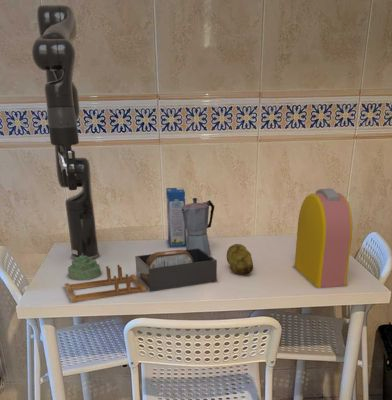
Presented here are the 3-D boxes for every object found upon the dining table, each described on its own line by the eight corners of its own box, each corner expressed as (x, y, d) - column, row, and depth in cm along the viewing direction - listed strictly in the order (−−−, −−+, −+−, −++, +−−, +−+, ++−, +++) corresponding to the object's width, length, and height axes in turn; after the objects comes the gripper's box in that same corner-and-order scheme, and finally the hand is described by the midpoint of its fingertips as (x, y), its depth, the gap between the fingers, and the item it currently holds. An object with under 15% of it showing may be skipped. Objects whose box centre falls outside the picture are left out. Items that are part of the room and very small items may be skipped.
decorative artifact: (101, 278, 157) (99, 268, 166) (98, 256, 154) (97, 248, 163) (68, 281, 156) (69, 271, 164) (65, 259, 152) (66, 250, 161)
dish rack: (64, 287, 150) (62, 271, 148) (134, 277, 158) (133, 262, 155) (72, 302, 140) (69, 285, 137) (146, 291, 147) (145, 275, 144)
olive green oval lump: (226, 277, 157) (227, 252, 153) (226, 265, 168) (226, 241, 164) (253, 277, 156) (254, 252, 153) (250, 265, 168) (251, 241, 164)
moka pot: (173, 256, 177) (171, 199, 168) (203, 247, 187) (202, 192, 178) (193, 261, 172) (192, 202, 162) (222, 252, 182) (223, 195, 172)
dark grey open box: (136, 276, 158) (135, 255, 155) (199, 268, 165) (198, 248, 162) (150, 291, 146) (148, 269, 143) (216, 281, 153) (216, 260, 150)
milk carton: (168, 240, 197) (166, 188, 188) (183, 239, 198) (182, 187, 188) (169, 247, 188) (167, 192, 179) (186, 246, 189) (184, 192, 180)
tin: (191, 273, 158) (191, 247, 154) (195, 276, 156) (194, 249, 152) (145, 279, 153) (144, 252, 150) (148, 282, 151) (147, 255, 147)
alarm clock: (346, 285, 149) (358, 194, 137) (317, 287, 148) (327, 196, 135) (319, 264, 167) (328, 182, 155) (293, 266, 166) (300, 183, 154)
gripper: (81, 126, 130) (88, 190, 138) (72, 123, 142) (79, 183, 149) (52, 127, 128) (60, 192, 135) (45, 124, 140) (53, 185, 147)
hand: (70, 187), depth 142 cm, fingers open, 8 cm apart
